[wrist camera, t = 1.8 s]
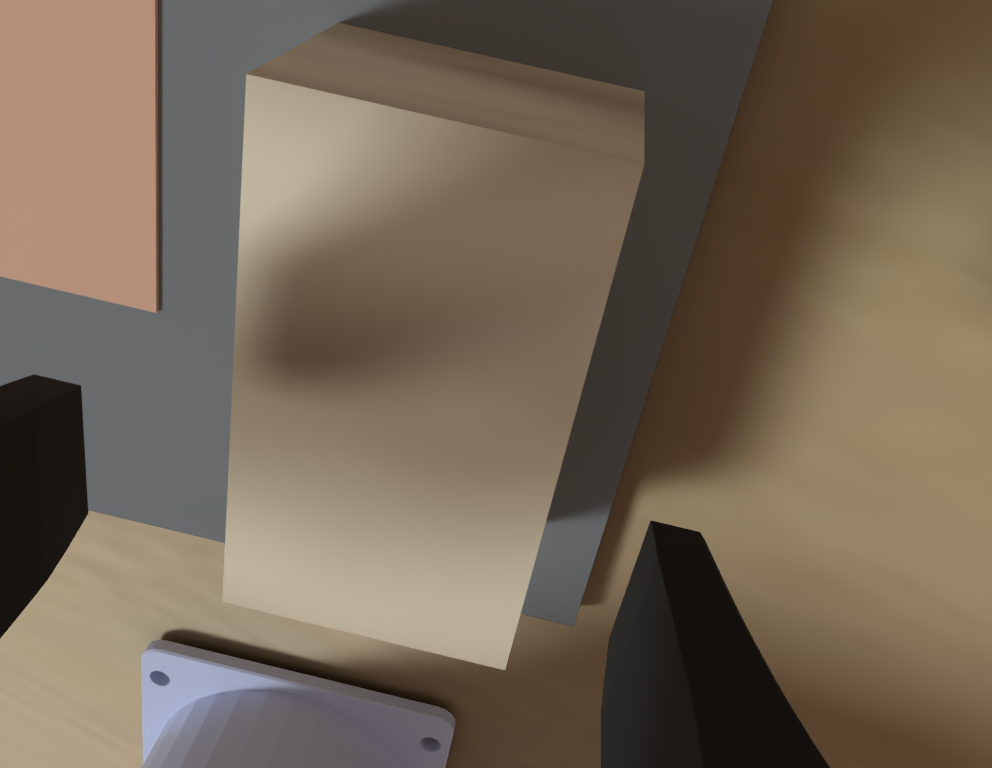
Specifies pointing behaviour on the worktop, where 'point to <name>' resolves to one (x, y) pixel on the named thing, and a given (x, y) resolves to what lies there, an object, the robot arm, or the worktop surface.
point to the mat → (216, 217)
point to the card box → (414, 329)
